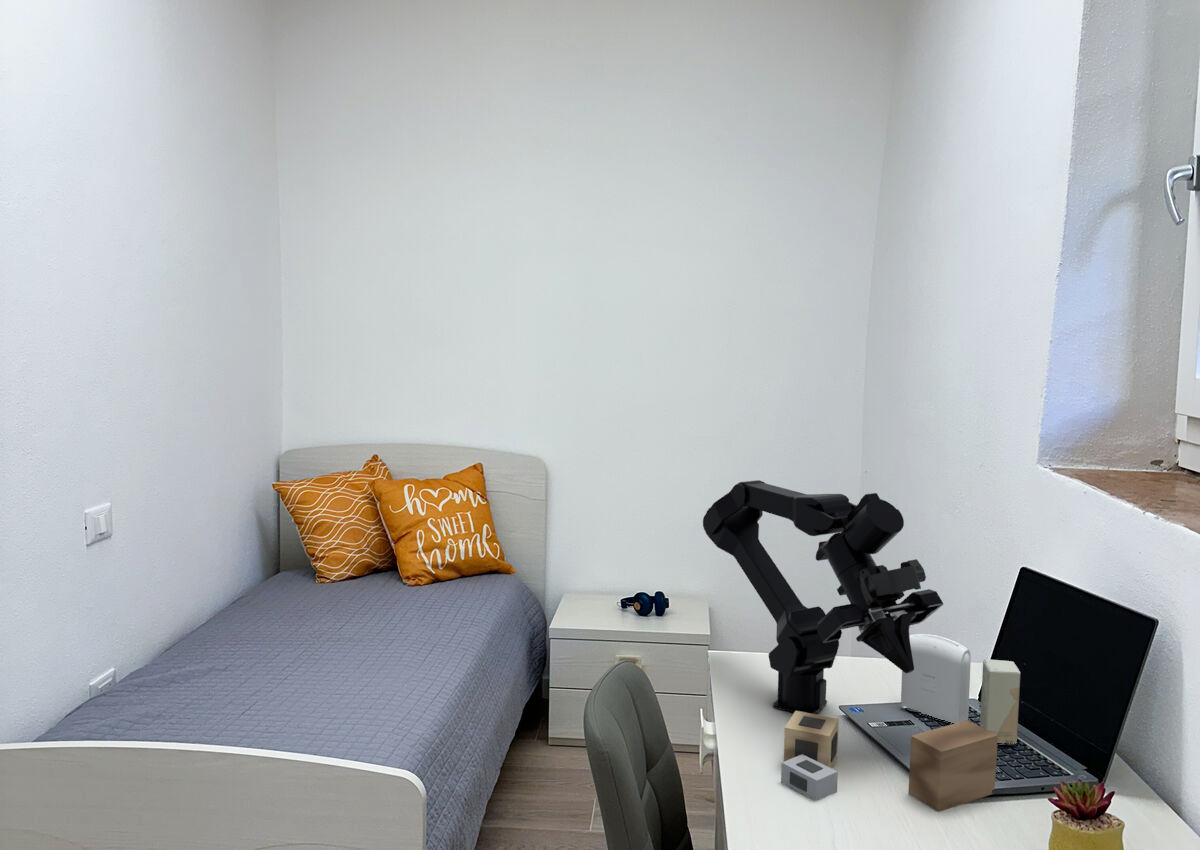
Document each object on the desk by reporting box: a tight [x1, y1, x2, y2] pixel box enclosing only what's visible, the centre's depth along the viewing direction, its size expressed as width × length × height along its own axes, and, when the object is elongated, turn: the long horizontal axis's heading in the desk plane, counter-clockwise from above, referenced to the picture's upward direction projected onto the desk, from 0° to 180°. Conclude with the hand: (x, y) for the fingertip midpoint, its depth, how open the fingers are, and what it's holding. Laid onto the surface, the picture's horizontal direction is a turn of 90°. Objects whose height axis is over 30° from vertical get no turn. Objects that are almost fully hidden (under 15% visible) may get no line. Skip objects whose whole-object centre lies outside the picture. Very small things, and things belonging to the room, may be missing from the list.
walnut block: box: [907, 719, 998, 813], centre depth 126 cm, size 5×10×8 cm, turn 118°
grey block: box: [780, 754, 839, 802], centre depth 128 cm, size 6×4×3 cm
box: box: [979, 658, 1021, 744], centre depth 142 cm, size 5×4×11 cm
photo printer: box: [900, 633, 972, 724], centre depth 150 cm, size 10×4×12 cm, turn 47°
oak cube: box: [783, 711, 840, 769], centre depth 134 cm, size 6×6×6 cm
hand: (910, 671), depth 132 cm, fingers closed
